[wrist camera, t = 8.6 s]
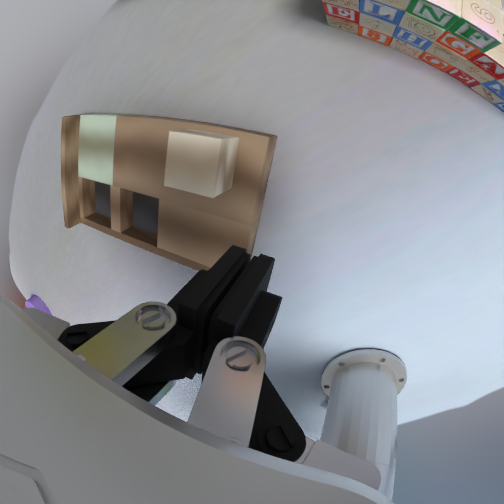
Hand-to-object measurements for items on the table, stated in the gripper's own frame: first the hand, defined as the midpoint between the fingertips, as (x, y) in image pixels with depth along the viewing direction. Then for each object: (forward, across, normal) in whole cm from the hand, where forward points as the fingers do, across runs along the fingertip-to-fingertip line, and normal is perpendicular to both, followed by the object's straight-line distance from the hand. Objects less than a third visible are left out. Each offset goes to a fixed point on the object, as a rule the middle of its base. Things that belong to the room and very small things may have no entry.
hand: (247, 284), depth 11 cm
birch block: (+16, +9, -1) cm, 18 cm away
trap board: (+19, +18, +4) cm, 26 cm away
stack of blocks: (+19, -9, -19) cm, 28 cm away
